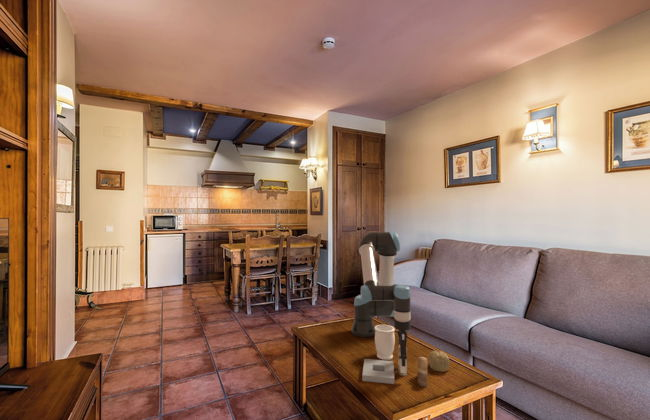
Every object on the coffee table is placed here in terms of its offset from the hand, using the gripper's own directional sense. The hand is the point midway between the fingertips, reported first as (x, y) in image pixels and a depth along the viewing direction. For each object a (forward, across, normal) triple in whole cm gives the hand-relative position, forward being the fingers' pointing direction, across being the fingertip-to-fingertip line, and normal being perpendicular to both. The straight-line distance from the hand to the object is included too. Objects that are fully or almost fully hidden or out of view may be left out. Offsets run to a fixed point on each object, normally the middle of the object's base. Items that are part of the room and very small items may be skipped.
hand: (402, 365), depth 142 cm
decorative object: (+4, -9, +18) cm, 21 cm away
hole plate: (+4, +2, -11) cm, 12 cm away
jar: (+4, -16, -8) cm, 18 cm away
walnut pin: (+4, +8, +8) cm, 12 cm away
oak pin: (+4, +1, +9) cm, 10 cm away
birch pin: (+4, 0, 0) cm, 4 cm away
